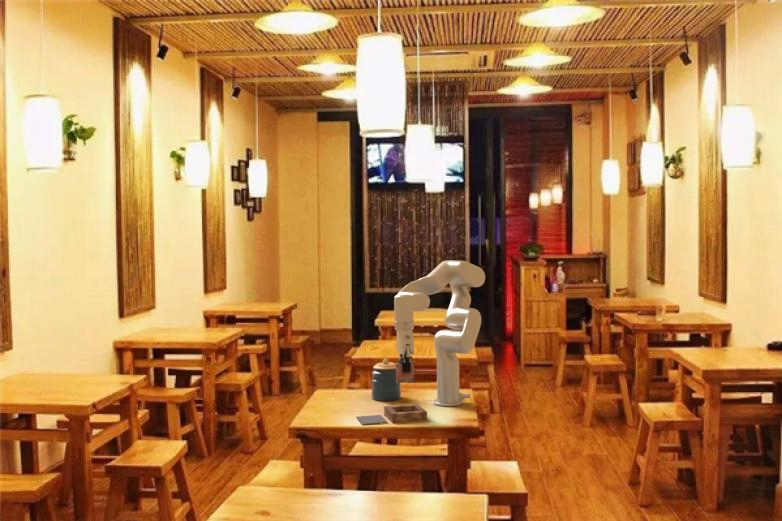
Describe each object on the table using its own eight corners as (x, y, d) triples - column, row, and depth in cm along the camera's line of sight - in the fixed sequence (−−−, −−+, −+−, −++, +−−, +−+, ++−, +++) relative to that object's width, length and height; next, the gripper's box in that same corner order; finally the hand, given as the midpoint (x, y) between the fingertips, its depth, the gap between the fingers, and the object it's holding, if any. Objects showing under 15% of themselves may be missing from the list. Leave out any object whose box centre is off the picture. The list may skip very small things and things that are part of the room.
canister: (375, 402, 360) (374, 361, 359) (368, 396, 373) (368, 357, 372) (404, 400, 363) (403, 360, 362) (397, 394, 376) (396, 355, 375)
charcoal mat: (380, 416, 335) (380, 414, 335) (387, 423, 323) (387, 421, 323) (356, 418, 332) (356, 416, 332) (362, 425, 321) (362, 423, 321)
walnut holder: (417, 412, 340) (417, 404, 340) (427, 420, 327) (427, 411, 327) (384, 414, 337) (384, 406, 337) (392, 423, 323) (392, 414, 323)
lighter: (398, 383, 328) (397, 358, 327) (394, 381, 331) (393, 357, 330) (416, 381, 332) (415, 356, 331) (412, 379, 335) (411, 355, 334)
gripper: (418, 327, 323) (419, 374, 324) (407, 322, 339) (408, 366, 340) (400, 328, 321) (401, 375, 322) (389, 323, 337) (390, 368, 338)
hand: (405, 370), depth 331 cm, fingers closed on lighter, 3 cm apart
